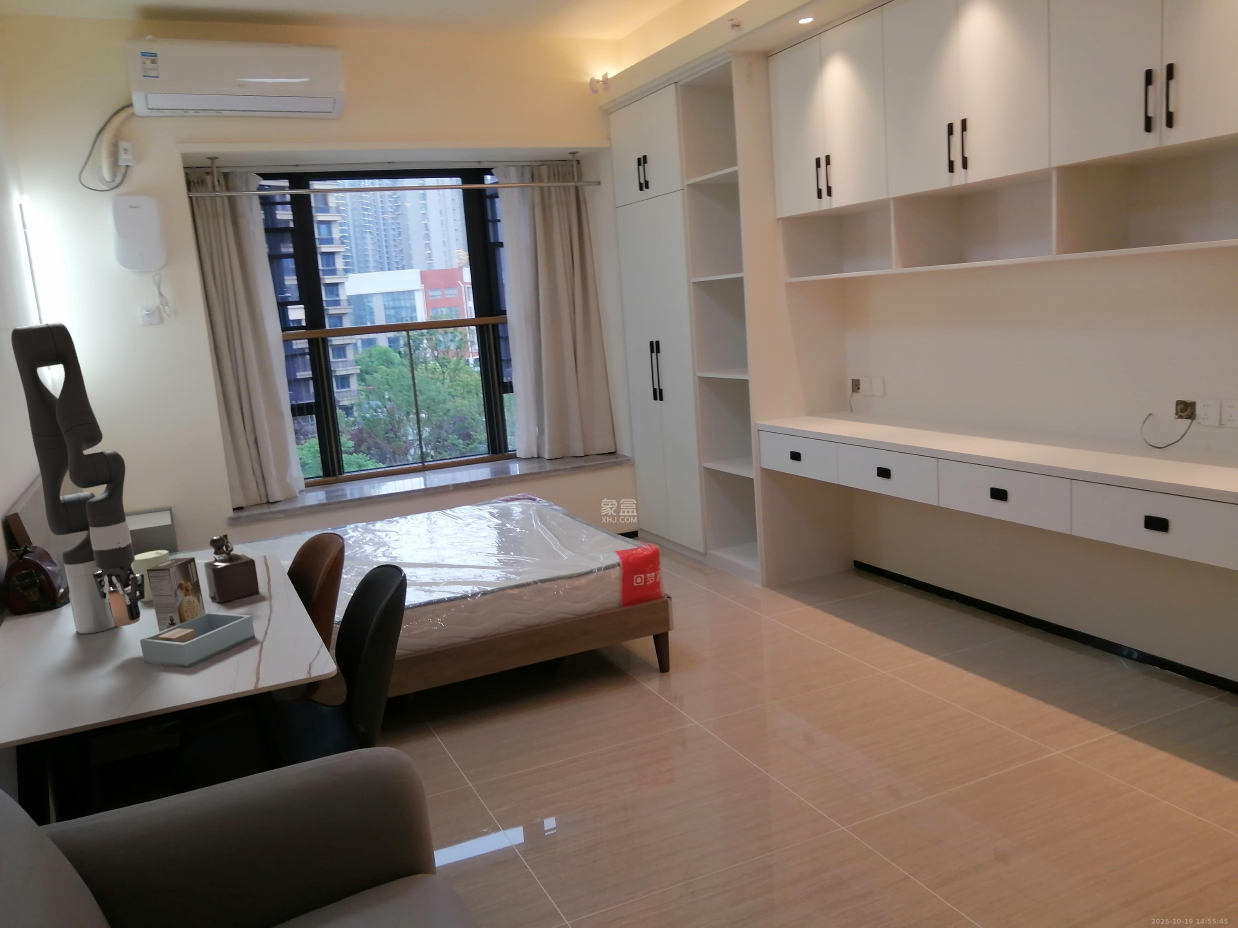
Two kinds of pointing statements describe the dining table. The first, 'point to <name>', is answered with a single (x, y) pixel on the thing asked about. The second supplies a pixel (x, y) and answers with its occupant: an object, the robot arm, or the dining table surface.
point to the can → (146, 562)
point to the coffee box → (175, 592)
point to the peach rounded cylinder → (120, 609)
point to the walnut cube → (178, 635)
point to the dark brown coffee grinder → (230, 573)
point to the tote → (199, 639)
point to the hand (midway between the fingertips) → (126, 617)
